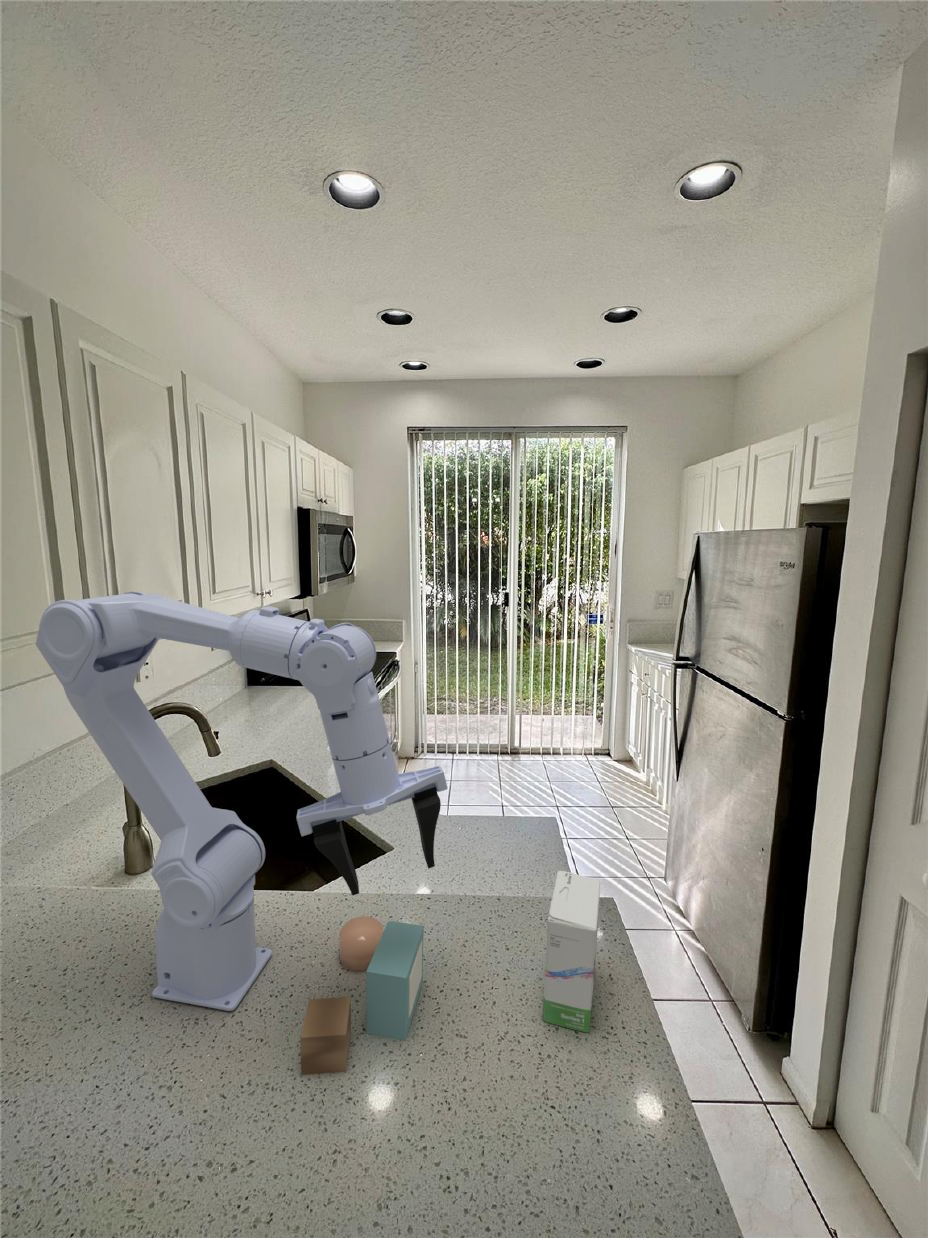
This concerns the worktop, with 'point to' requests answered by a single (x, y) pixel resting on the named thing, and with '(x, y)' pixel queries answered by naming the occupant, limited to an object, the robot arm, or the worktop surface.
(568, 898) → the ink box
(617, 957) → the worktop surface
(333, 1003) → the walnut cube
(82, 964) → the worktop surface
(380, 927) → the peach rounded dome
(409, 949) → the teal block
